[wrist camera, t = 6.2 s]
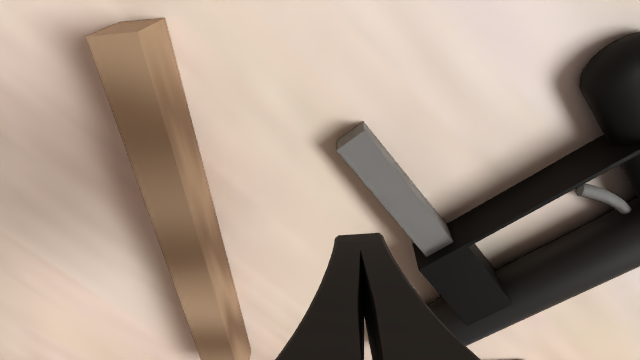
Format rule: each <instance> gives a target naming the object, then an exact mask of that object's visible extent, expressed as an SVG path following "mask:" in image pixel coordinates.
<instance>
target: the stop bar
mask: <svg viewBox="0 0 640 360" xmlns="http://www.w3.org/2000/svg"><path fill="white" fill-rule="evenodd" d="M86 39H87V42H88V44H89V47H90V50H91V53H92V56H93V58H94V61H95V64H96V67H97V70H98V72H99V75H100V78H101V81H102V84H103V86H104V89H105V92H106V95H107V98H108V100H109V103H110V106H111V109H112V112H113V114H114V117H115V120H116V123H117V126H118V128H119V131H120V134H121V137H122V140H123V142H124V145H125V148H126V151H127V154H128V156H129V159H130V162H131V165H132V168H133V170H134V173H135V176H136V179H137V182H138V184H139V187H140V190H141V193H142V196H143V199H144V201H145V204H146V207H147V210H148V213H149V215H150V218H151V221H152V224H153V227H154V229H155V232H156V235H157V238H158V241H159V243H160V246H161V249H162V252H163V255H164V257H165V260H166V263H167V266H168V269H169V271H170V274H171V277H172V280H173V283H174V285H175V288H176V291H177V294H178V297H179V299H180V302H181V305H182V308H183V311H184V313H185V316H186V319H187V322H188V325H189V327H190V330H191V333H192V336H193V339H194V341H195V344H196V347H197V350H198V353H199V355H200V358H201V360H250V355H251V348H250V344H249V340H248V337H247V333H246V329H245V325H244V321H243V317H242V313H241V310H240V306H239V302H238V298H237V294H236V290H235V286H234V283H233V279H232V275H231V271H230V267H229V263H228V259H227V256H226V252H225V248H224V244H223V240H222V236H221V232H220V229H219V225H218V221H217V217H216V213H215V209H214V205H213V202H212V198H211V194H210V190H209V186H208V182H207V178H206V175H205V171H204V167H203V163H202V159H201V155H200V151H199V148H198V144H197V140H196V136H195V132H194V128H193V124H192V121H191V117H190V113H189V109H188V105H187V101H186V97H185V94H184V90H183V86H182V82H181V78H180V74H179V70H178V67H177V63H176V59H175V55H174V51H173V47H172V43H171V40H170V36H169V32H168V28H167V24H166V20H165V18H158V19H147V20H137V21H126V22H119V23H117V24H114V25H112V26H110V27H107V28H105V29H102V30H100V31H98V32H95V33H93V34H91V35H88V36H86Z"/></svg>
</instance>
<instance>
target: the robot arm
mask: <svg viewBox="0 0 640 360" xmlns="http://www.w3.org/2000/svg"><path fill="white" fill-rule="evenodd" d="M364 317H365V322H366V328H367V333H368V338H369V344H370V349H371V354H372V360H480V359H479V358H478V357H477V356H476V355H475V354H474V353H473V352H472V351H470V350H469V349H468V348H467V347H466V346H465V345H464V344H463V343H462V342H460V341H459V340H458V339H457V337H456V336H455V335H454V334H453V333H452V332H451V331H450V330H449V329H448V328H447V327H446V326H445V325H444V324H443V323H442V322H441V321H440V320H439V319H438V318H437V316H436V315H435V314H434V313H433V312H432V311H431V309H430V308H429V307H428V306H427V305H426V303H425V302H424V301H423V300H422V298H421V297H420V296H419V295H418V293H417V292H416V291H415V289H414V288H413V287H412V285H411V284H410V282H409V281H408V279H407V278H406V276H405V275H404V273H403V272H402V271H401V269H400V267H399V266H398V264H397V263H396V261H395V259H394V258H393V256H392V254H391V252H390V250H389V248H388V246H387V244H386V242H385V240H384V237H383V236H382V235H381V234H380V233H370V234H355V235H339V236H337V237H336V238H335V242H334V247H333V251H332V255H331V258H330V261H329V264H328V267H327V269H326V272H325V274H324V277H323V279H322V282H321V284H320V286H319V289H318V291H317V293H316V295H315V297H314V299H313V301H312V303H311V305H310V307H309V309H308V310H307V312H306V314H305V316H304V318H303V319H302V321H301V323H300V324H299V326H298V327H297V329H296V331H295V332H294V334H293V335H292V337H291V338H290V340H289V341H288V343H287V344H286V346H285V347H284V348H283V350H282V351H281V353H280V354H279V355H278V357H277V358H276V359H275V360H364Z"/></svg>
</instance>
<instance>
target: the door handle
mask: <svg viewBox="0 0 640 360" xmlns="http://www.w3.org/2000/svg"><path fill="white" fill-rule="evenodd" d="M579 84H580V90H581V92H582V94H583V95H584V97H585V99H586V101H587V103H588V105H589V106H590V108H591V110H592V112H593V114H594V116H595V117H596V119H597V121H598V123H599V125H600V127H601V129H602V130H603V132H604V135H602V136H600V137H599V138H597V139H595V140H593V141H592V142H590V143H588V144H586V145H585V146H583V147H581V148H579V149H578V150H576V151H574V152H572V153H571V154H569V155H567V156H565V157H564V158H562V159H560V160H558V161H557V162H555V163H553V164H551V165H550V166H548V167H546V168H544V169H542V170H541V171H539V172H537V173H535V174H534V175H532V176H530V177H528V178H527V179H525V180H523V181H521V182H520V183H518V184H516V185H514V186H513V187H511V188H509V189H507V190H506V191H504V192H502V193H500V194H499V195H497V196H495V197H493V198H492V199H490V200H488V201H486V202H485V203H483V204H481V205H479V206H478V207H476V208H474V209H472V210H471V211H469V212H467V213H465V214H464V215H462V216H460V217H458V218H457V219H454V220H453V221H451V222H449V223H447V224H446V223H445V222H444V221H443V219H442V218H441V217H440V216H439V214H438V213H437V212H436V210H435V209H434V208H433V207H432V206H431V204H430V203H429V202H428V201H427V199H426V198H425V197H424V196H423V194H422V193H421V192H420V191H419V189H418V188H417V187H416V186H415V185H414V183H413V182H412V181H411V180H410V178H409V177H408V176H407V175H406V173H405V172H404V171H403V170H402V168H401V167H400V166H399V165H398V163H397V162H396V161H395V160H394V159H393V157H392V156H391V155H390V154H389V152H388V151H387V150H386V149H385V147H384V146H383V145H382V144H381V142H380V141H379V140H378V139H377V137H376V136H375V135H374V134H373V133H372V131H371V130H370V129H369V128H368V126H367V125H366V124H365V123H364V121H363V122H362V123H360V124H359V125H358V126H356V127H355V128H353V129H352V130H351V131H349V132H348V133H347V134H345V135H344V136H342V137H341V138H340V139H338V140H337V152H338V153H339V154H340V155H341V156H342V157H343V159H344V160H345V161H346V162H347V163H348V165H349V166H350V167H351V168H352V169H353V170H354V172H355V173H356V174H357V175H358V176H359V178H360V179H361V180H362V181H363V182H364V184H365V185H366V186H367V187H368V188H369V189H370V191H371V192H372V193H373V194H374V195H375V197H376V198H377V199H378V200H379V201H380V202H381V204H382V205H383V206H384V207H385V208H386V210H387V211H388V212H389V213H390V214H391V216H392V217H393V218H394V219H395V220H396V221H397V223H398V224H399V225H400V226H401V227H402V229H403V230H404V231H405V232H406V233H407V234H408V236H409V237H410V238H411V239H412V240H413V242H414V243H413V247H414V252H415V256H416V260H417V264H418V268H419V271H420V272H421V273H422V274H423V275H424V276H425V278H426V279H427V280H428V281H429V282H430V283H431V285H432V286H433V287H434V288H435V289H436V290H437V291H438V293H439V294H440V295H441V296H442V297H443V298H441V299H439V300H437V301H435V302H433V303H431V304H429V305H427V306H428V307H429V308H430V309H431V311H432V312H433V313H434V314H435V315H436V316H437V318H438V319H439V320H440V321H441V322H442V323H443V324H444V325H445V326H446V327H447V328H448V329H449V330H450V331H451V332H452V333H453V334H454V335H455V336H456V337H457V339H458V340H459V341H460V342H462V343H463V344H464V345H465V346H467V345H469V344H471V343H473V342H476V341H478V340H480V339H482V338H484V337H487V336H489V335H491V334H493V333H495V332H497V331H500V330H502V329H504V328H506V327H508V326H511V325H513V324H515V323H517V322H519V321H521V320H524V319H526V318H528V317H530V316H532V315H535V314H537V313H539V312H541V311H543V310H545V309H548V308H550V307H552V306H554V305H556V304H559V303H561V302H563V301H565V300H567V299H569V298H572V297H574V296H576V295H578V294H580V293H583V292H585V291H587V290H589V289H591V288H593V287H596V286H598V285H600V284H602V283H604V282H607V281H609V280H611V279H613V278H615V277H617V276H620V275H622V274H624V273H626V272H628V271H631V270H633V269H635V268H637V267H639V266H640V32H637V33H634V34H630V35H627V36H625V37H622V38H620V39H618V40H616V41H614V42H612V43H611V44H609V45H608V46H606V47H605V48H603V49H602V50H601V51H599V52H598V53H597V54H596V55H595V56H594V57H593V58H592V59H591V60H590V61H589V63H588V64H587V65H586V67H585V68H584V70H583V72H582V74H581V77H580V83H579ZM620 164H621V165H622V167H623V169H624V171H625V173H626V175H627V176H628V178H629V180H630V182H631V184H632V186H633V187H634V189H635V191H636V193H637V195H638V197H639V198H637V199H635V200H633V201H631V202H629V203H626V202H625V201H624V200H623V199H621V198H620V197H619V196H617V195H615V194H613V193H612V192H609V191H607V190H605V189H602V188H599V187H596V186H593V185H589V184H585V183H586V182H588V181H590V180H592V179H594V178H596V177H597V176H599V175H601V174H603V173H605V172H607V171H609V170H610V169H612V168H614V167H616V166H618V165H620ZM575 188H576V190H575V192H576V194H577V195H578V196H583V197H587V198H591V199H595V200H598V201H601V202H603V203H606V204H608V205H610V206H612V207H613V208H615V210H613V211H611V212H609V213H607V214H605V215H603V216H602V217H600V218H598V219H596V220H594V221H592V222H590V223H588V224H586V225H584V226H582V227H580V228H578V229H576V230H574V231H572V232H570V233H568V234H566V235H564V236H562V237H560V238H558V239H556V240H555V241H553V242H551V243H549V244H547V245H545V246H543V247H541V248H539V249H537V250H535V251H533V252H531V253H529V254H527V255H525V256H523V257H521V258H519V259H517V260H515V261H513V262H511V263H510V264H508V265H506V266H504V267H502V268H500V269H498V270H495V269H494V267H493V266H492V265H491V264H490V262H489V261H488V260H487V259H486V257H485V256H484V255H483V254H482V252H481V251H480V250H479V248H478V247H477V246H476V245H475V243H476V242H478V241H480V240H482V239H483V238H485V237H487V236H489V235H491V234H493V233H495V232H496V231H498V230H500V229H502V228H504V227H506V226H507V225H509V224H511V223H513V222H515V221H517V220H518V219H520V218H522V217H524V216H526V215H528V214H529V213H531V212H533V211H535V210H537V209H539V208H540V207H542V206H544V205H546V204H548V203H550V202H552V201H553V200H555V199H557V198H559V197H561V196H563V195H564V194H566V193H568V192H570V191H572V190H574V189H575Z"/></svg>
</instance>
